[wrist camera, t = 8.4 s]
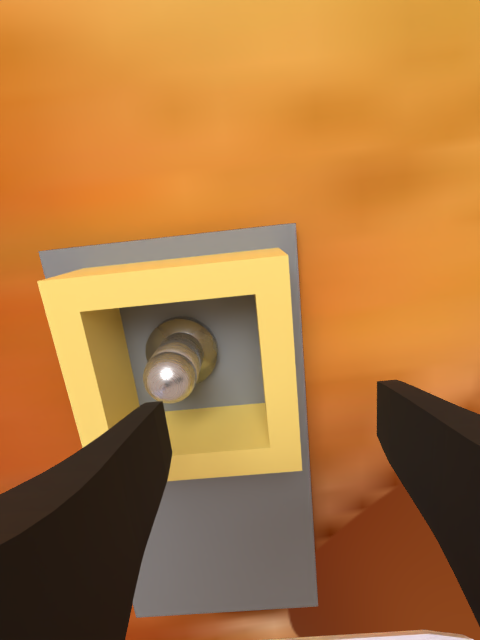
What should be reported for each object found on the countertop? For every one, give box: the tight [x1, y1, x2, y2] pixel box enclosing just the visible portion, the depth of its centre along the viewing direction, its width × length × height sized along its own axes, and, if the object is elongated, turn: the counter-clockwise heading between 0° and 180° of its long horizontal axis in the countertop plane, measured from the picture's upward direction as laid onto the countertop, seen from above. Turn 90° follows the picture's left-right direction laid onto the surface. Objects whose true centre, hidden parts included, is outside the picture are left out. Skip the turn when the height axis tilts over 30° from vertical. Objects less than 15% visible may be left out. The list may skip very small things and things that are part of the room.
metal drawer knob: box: [143, 316, 218, 404], centre depth 16 cm, size 4×4×4 cm
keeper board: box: [39, 223, 318, 618], centre depth 21 cm, size 13×26×1 cm, turn 6°
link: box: [37, 248, 302, 481], centre depth 17 cm, size 10×10×4 cm
